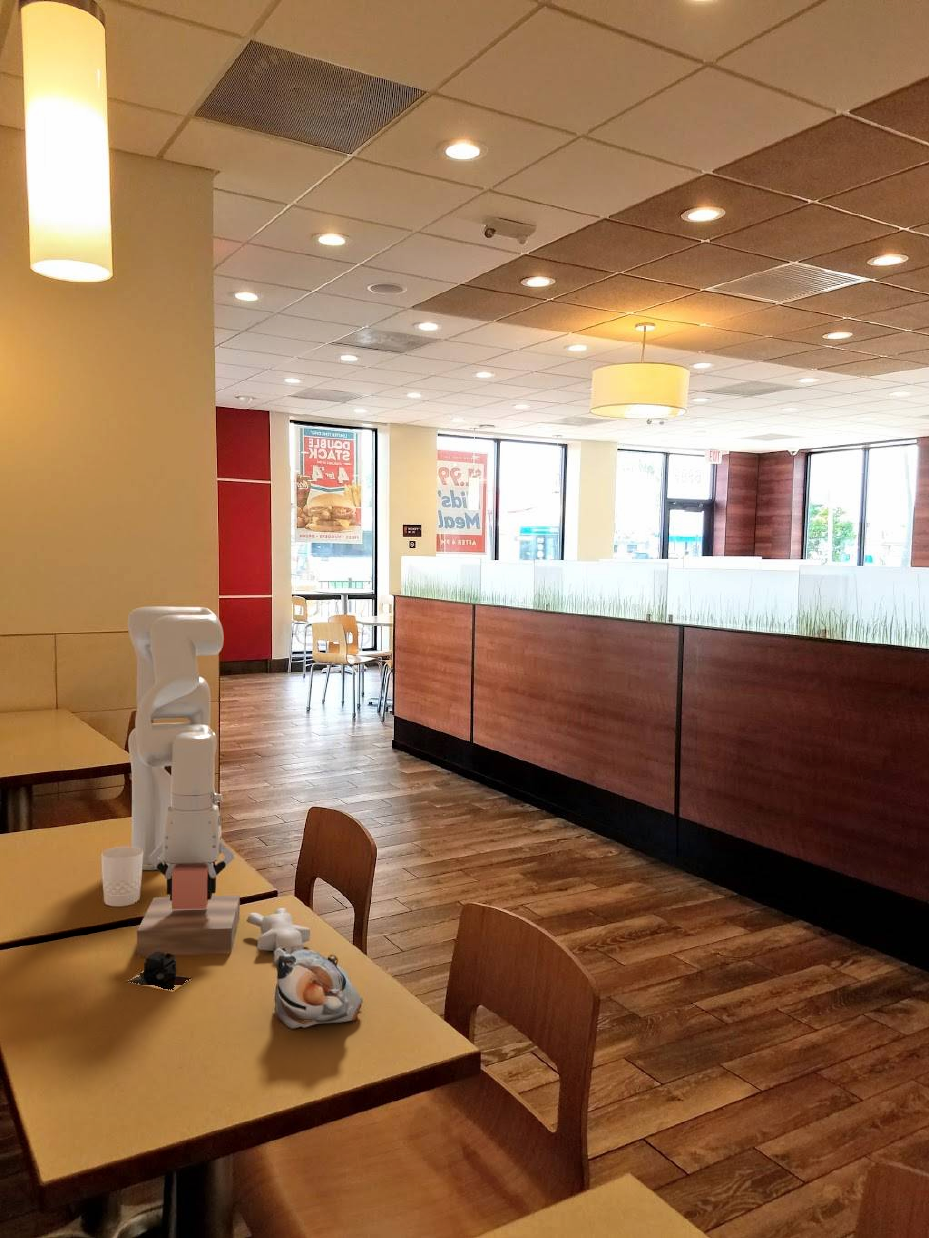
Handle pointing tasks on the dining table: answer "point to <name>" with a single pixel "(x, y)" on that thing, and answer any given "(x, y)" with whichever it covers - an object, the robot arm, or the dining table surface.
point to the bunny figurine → (279, 931)
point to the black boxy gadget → (160, 972)
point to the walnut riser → (189, 927)
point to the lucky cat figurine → (313, 990)
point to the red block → (189, 886)
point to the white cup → (122, 875)
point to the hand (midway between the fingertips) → (191, 896)
